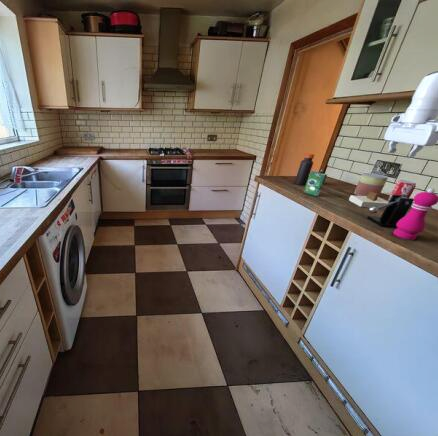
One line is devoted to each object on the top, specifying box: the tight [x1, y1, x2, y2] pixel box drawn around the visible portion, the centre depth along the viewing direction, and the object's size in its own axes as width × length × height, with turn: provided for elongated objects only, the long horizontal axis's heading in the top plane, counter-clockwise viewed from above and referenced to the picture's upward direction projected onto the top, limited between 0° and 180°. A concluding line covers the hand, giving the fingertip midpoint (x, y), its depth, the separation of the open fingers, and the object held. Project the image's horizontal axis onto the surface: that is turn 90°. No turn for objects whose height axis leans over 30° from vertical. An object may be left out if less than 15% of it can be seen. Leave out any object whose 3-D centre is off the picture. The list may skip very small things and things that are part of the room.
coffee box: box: [303, 170, 328, 197], centre depth 133 cm, size 8×3×13 cm, turn 26°
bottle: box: [294, 153, 315, 186], centre depth 151 cm, size 7×7×20 cm
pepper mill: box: [393, 187, 438, 241], centre depth 87 cm, size 7×7×20 cm
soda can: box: [387, 179, 417, 202], centre depth 121 cm, size 7×7×13 cm
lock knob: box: [366, 191, 380, 201], centre depth 121 cm, size 5×2×4 cm, turn 171°
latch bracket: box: [366, 194, 414, 229], centre depth 99 cm, size 12×9×13 cm
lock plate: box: [348, 194, 389, 210], centre depth 122 cm, size 14×10×3 cm
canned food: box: [353, 172, 389, 196], centre depth 135 cm, size 11×11×12 cm
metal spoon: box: [367, 196, 406, 214], centre depth 98 cm, size 13×3×3 cm, turn 81°
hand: (400, 154), depth 95 cm, fingers open, 8 cm apart
